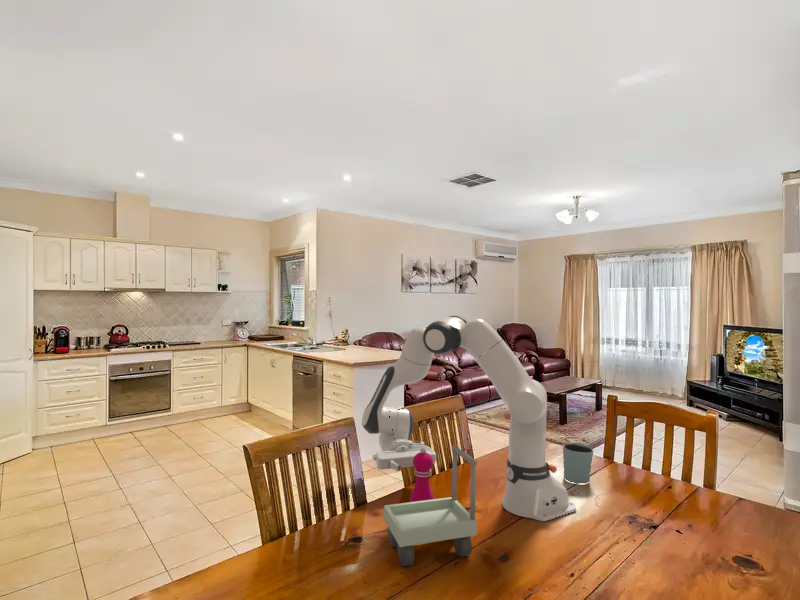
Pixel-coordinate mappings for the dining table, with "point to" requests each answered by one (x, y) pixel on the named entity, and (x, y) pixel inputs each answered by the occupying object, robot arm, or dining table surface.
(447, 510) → the serving trolley
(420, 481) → the pepper mill
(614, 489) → the dining table surface
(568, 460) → the grey cup
